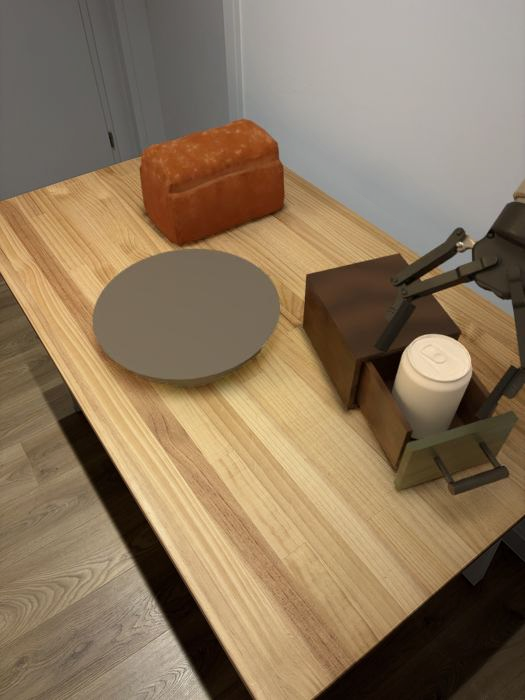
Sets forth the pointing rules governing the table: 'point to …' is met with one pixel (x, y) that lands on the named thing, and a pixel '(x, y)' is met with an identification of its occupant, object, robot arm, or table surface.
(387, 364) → the drawer
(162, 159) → the bread
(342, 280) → the cabinet
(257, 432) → the table surface
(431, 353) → the beverage can
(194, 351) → the flat disc
